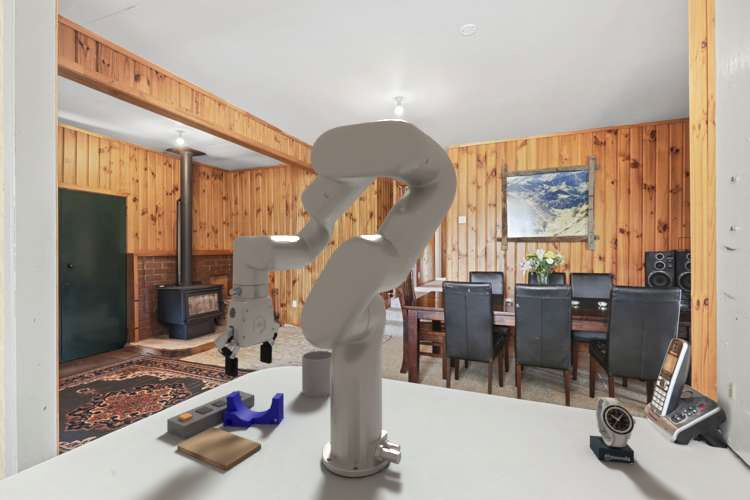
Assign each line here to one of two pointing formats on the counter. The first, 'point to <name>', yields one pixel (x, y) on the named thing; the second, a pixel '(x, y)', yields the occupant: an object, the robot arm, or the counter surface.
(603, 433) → the watch
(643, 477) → the counter surface
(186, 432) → the power strip
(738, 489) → the counter surface
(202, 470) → the counter surface
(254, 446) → the wooden board
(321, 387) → the cup
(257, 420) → the cable clip
